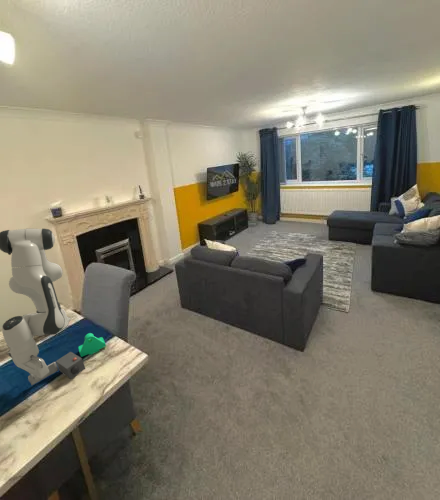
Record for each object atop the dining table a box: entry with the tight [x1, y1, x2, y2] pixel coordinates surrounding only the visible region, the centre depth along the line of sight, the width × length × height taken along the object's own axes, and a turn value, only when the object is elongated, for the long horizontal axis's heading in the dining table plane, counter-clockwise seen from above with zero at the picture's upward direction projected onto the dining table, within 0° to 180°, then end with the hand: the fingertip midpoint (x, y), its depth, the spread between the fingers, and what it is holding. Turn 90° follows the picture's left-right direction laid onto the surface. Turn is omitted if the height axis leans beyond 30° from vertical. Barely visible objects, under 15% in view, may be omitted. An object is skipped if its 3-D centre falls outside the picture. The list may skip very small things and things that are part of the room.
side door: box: [27, 361, 59, 386], centre depth 118 cm, size 11×1×5 cm, turn 137°
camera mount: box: [77, 332, 107, 358], centre depth 134 cm, size 12×8×10 cm, turn 124°
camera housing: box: [55, 351, 86, 380], centre depth 122 cm, size 11×7×7 cm, turn 57°
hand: (36, 378), depth 115 cm, fingers closed
